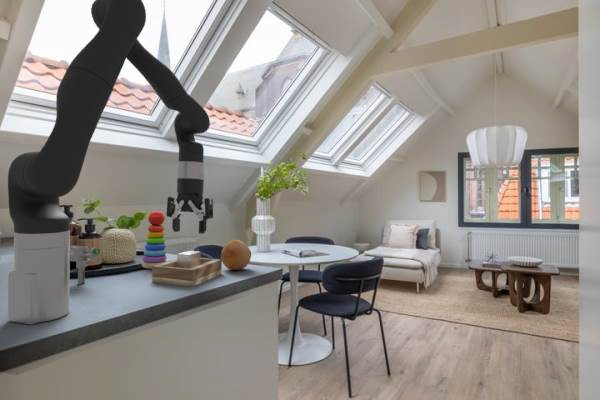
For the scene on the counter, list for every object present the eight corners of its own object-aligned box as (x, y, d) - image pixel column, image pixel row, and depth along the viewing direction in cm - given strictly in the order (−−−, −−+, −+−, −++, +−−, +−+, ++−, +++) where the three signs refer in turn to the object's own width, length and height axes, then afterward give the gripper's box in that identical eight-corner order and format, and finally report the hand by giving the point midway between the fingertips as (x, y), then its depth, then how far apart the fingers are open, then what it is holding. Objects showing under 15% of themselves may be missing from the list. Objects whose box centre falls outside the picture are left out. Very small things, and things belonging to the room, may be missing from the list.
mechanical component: (93, 286, 96) (93, 248, 96) (60, 283, 98) (60, 246, 98) (101, 283, 99) (101, 247, 99) (69, 280, 101) (69, 245, 101)
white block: (188, 275, 104) (189, 254, 104) (176, 274, 105) (177, 253, 105) (200, 271, 110) (200, 251, 110) (188, 270, 111) (189, 250, 111)
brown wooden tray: (192, 286, 98) (192, 270, 98) (152, 282, 102) (152, 266, 102) (221, 273, 113) (221, 259, 113) (185, 270, 117) (185, 256, 117)
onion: (251, 273, 116) (251, 241, 115) (219, 273, 114) (220, 241, 114) (250, 266, 125) (251, 237, 125) (221, 267, 124) (221, 237, 123)
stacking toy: (161, 269, 117) (162, 212, 117) (137, 269, 118) (138, 211, 117) (170, 264, 125) (171, 210, 125) (147, 264, 125) (148, 210, 125)
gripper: (161, 176, 105) (160, 232, 105) (205, 177, 101) (203, 235, 101) (177, 178, 112) (176, 230, 113) (218, 178, 108) (217, 232, 109)
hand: (189, 232), depth 107 cm, fingers open, 8 cm apart
